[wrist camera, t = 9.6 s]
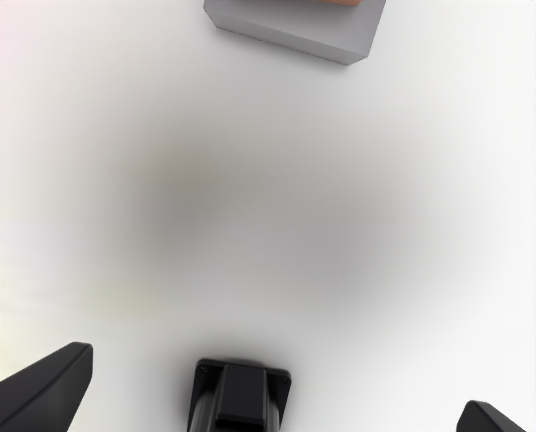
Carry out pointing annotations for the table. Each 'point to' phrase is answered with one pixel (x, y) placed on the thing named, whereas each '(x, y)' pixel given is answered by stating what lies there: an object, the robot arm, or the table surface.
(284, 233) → the table surface
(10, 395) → the robot arm
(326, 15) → the gray box
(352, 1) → the terracotta block
